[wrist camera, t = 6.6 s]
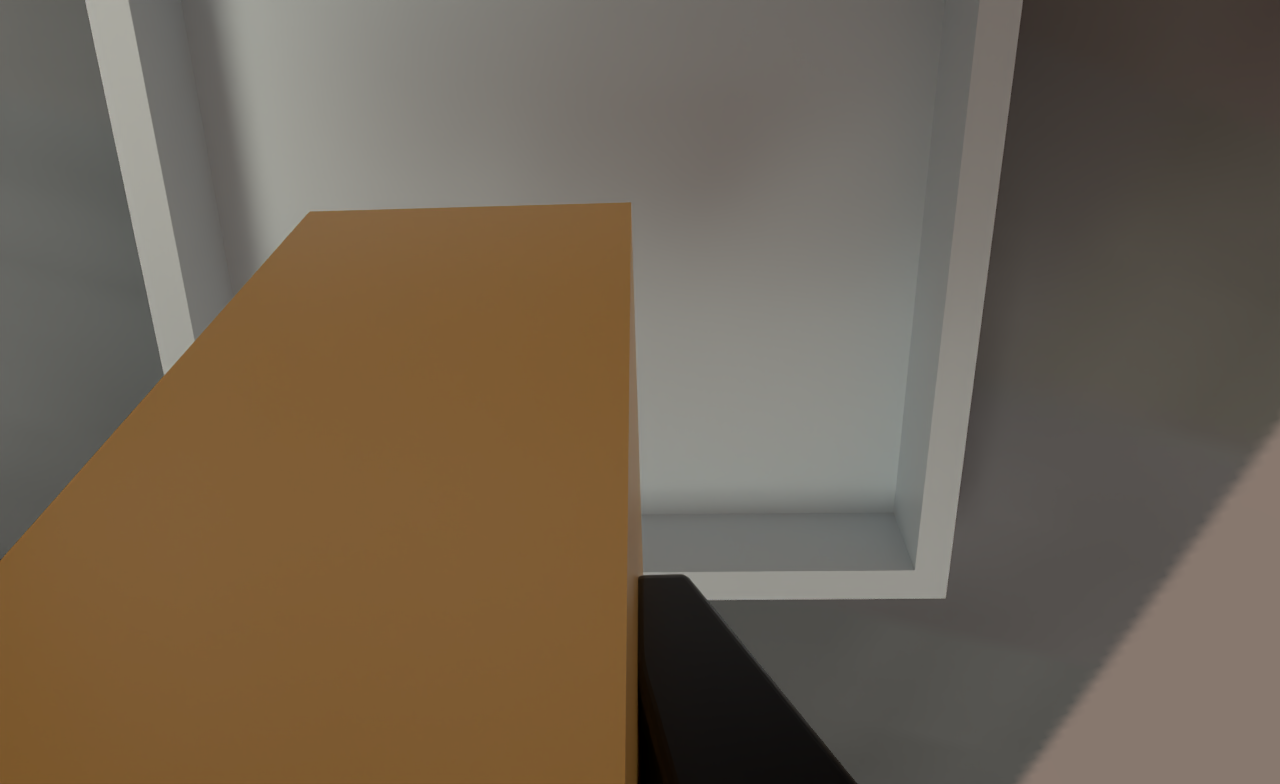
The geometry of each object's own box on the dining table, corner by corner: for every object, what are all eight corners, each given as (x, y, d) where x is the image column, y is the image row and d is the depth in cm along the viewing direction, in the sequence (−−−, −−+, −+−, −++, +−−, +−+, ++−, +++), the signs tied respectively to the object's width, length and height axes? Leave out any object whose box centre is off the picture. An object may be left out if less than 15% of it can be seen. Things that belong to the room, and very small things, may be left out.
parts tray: (254, 526, 23) (212, 603, 20) (130, -145, 17) (55, -142, 15) (915, 522, 23) (945, 598, 20) (990, -155, 17) (1043, -153, 15)
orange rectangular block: (377, 644, 13) (89, 1535, 6) (308, 211, 11) (-250, 843, 4) (645, 638, 13) (657, 1523, 6) (631, 202, 11) (622, 822, 4)
